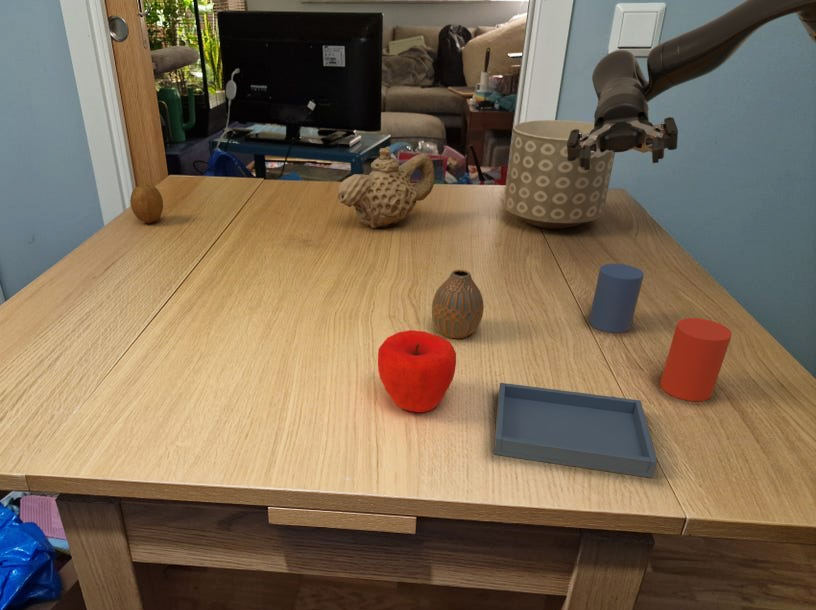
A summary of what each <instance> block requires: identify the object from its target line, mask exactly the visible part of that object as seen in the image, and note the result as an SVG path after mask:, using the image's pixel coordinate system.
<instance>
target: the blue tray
mask: <svg viewBox="0 0 816 610" xmlns="http://www.w3.org/2000/svg"><path fill="white" fill-rule="evenodd" d="M496 405H497V406H496V417H495V418H496V419H495V431H494V434H495V435H494V446H493V455H495V456H502V457H509V458H516V459H522V460H530V461H534V462H542V463H550V464H555V465H562V466H568V467H569V466H570V467H575V468H576V467H577V468H583V469H589V470H595V471H603V472H610V473H615V474H622V475H628V476H634V477H642V478H647V479H653V478H654V475H655V471H656V468H657V464H658V460H657V456H656V453H655V448H654V445H653V441H652V437H651V434H650V429H649V427H648V422H647V418H646V416H645V415H646V414H645V411H644V408H643V403H642V401H641V400H640V399H632V398H624V397H617V396H608V395H602V394H594V393H593V394H592V393H584V392H577V391H570V390H569V391H568V390H562V389H561V390H560V389H555V388H547V387H538V386H529V385H522V384H516V383H514V384H513V383H507V382H500V383H499V387H498V394H497V404H496Z"/></svg>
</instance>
